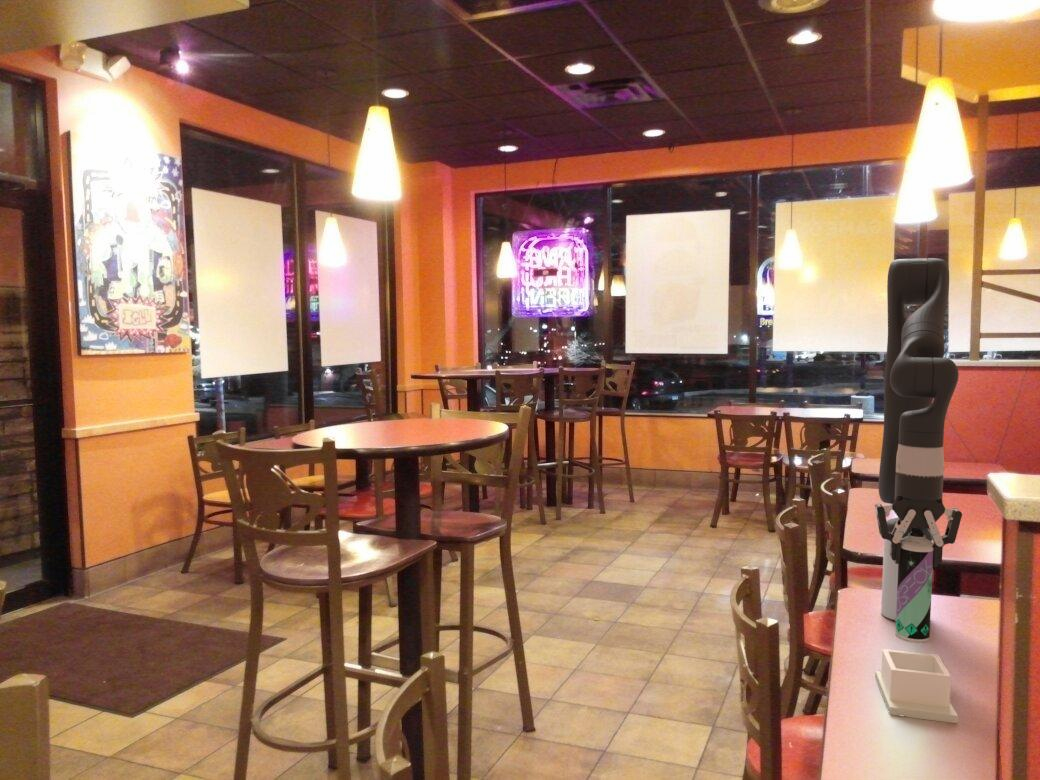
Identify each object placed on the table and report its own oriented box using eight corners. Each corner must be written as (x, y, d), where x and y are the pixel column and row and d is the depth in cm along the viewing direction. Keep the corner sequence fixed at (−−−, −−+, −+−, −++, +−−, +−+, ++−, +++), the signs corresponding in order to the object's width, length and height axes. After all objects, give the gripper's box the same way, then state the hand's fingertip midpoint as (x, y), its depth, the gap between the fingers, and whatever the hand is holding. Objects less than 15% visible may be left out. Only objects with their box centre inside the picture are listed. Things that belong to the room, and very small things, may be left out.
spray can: (889, 631, 143) (894, 523, 141) (920, 631, 143) (925, 524, 141) (903, 643, 137) (908, 532, 136) (935, 643, 137) (940, 532, 136)
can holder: (875, 677, 136) (876, 642, 136) (936, 684, 134) (937, 649, 133) (889, 714, 123) (890, 676, 122) (957, 723, 120) (959, 684, 120)
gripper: (959, 468, 139) (954, 561, 141) (871, 464, 143) (868, 554, 145) (970, 476, 132) (966, 574, 133) (878, 472, 136) (874, 566, 137)
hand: (915, 563), depth 139 cm, fingers closed on spray can, 5 cm apart
